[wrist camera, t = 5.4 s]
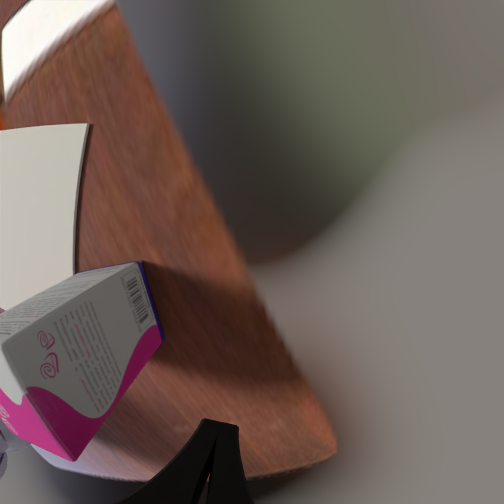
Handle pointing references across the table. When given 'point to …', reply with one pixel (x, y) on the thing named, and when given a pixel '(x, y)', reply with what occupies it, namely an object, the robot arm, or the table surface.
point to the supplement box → (75, 355)
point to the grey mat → (38, 207)
